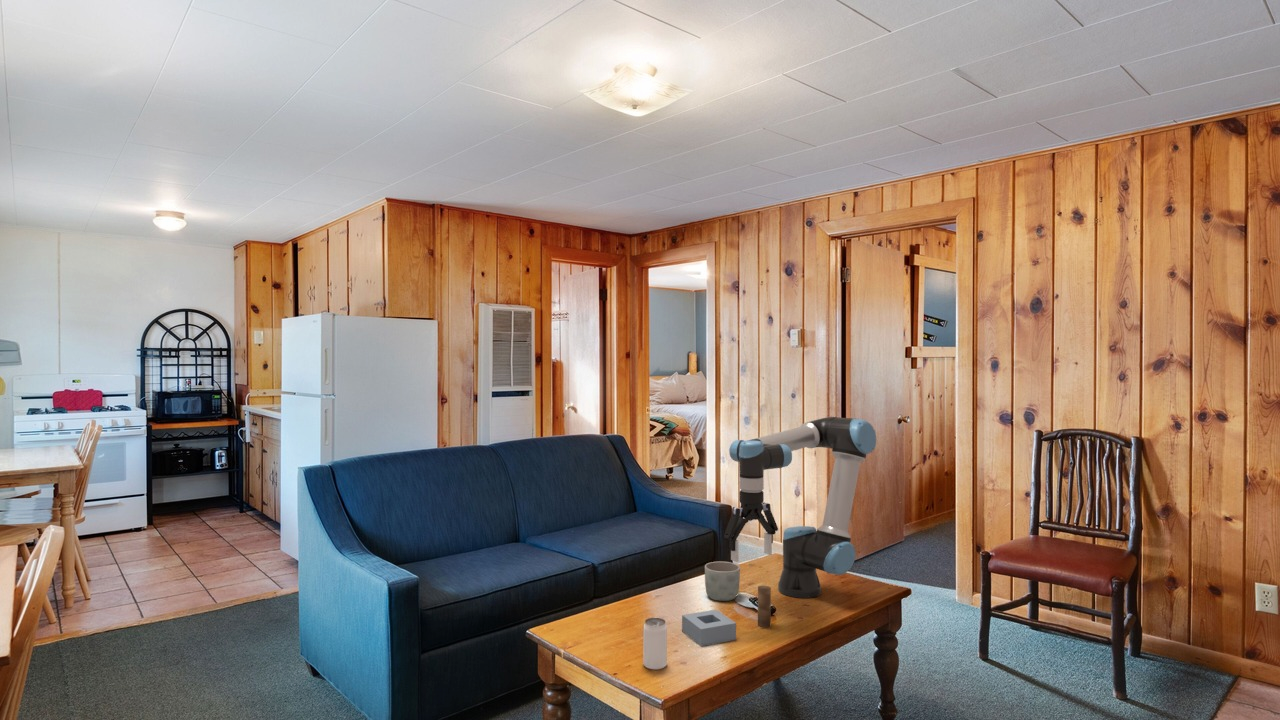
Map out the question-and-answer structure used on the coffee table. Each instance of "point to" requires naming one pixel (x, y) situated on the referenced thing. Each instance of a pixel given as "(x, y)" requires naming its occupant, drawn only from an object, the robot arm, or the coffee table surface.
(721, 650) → the coffee table surface
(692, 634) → the socket
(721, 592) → the planter
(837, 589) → the coffee table surface
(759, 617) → the dowel
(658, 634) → the can
